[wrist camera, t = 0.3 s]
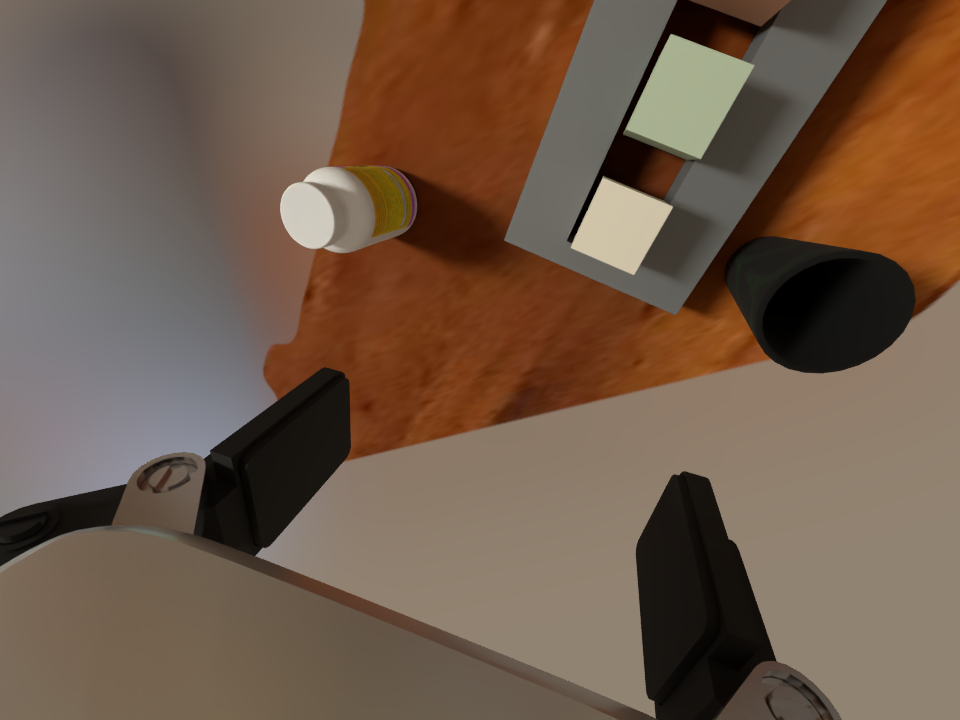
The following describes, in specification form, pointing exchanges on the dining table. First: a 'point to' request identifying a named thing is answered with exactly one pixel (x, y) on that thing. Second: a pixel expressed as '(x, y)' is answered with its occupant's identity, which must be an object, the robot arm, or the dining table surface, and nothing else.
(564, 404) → the dining table surface
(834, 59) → the console
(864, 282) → the cup
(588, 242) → the cream button
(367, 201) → the supplement bottle
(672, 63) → the green button
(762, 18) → the terracotta button
